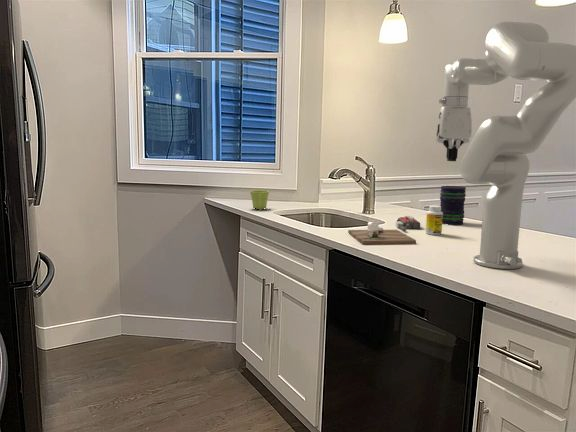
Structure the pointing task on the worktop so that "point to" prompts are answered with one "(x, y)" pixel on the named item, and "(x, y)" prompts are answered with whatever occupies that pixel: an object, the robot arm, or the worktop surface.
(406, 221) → the walkie-talkie
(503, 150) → the robot arm
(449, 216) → the storage jar
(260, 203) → the plant pot
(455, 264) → the worktop surface
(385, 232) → the dial board
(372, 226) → the lever
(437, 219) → the supplement bottle
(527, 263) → the worktop surface
